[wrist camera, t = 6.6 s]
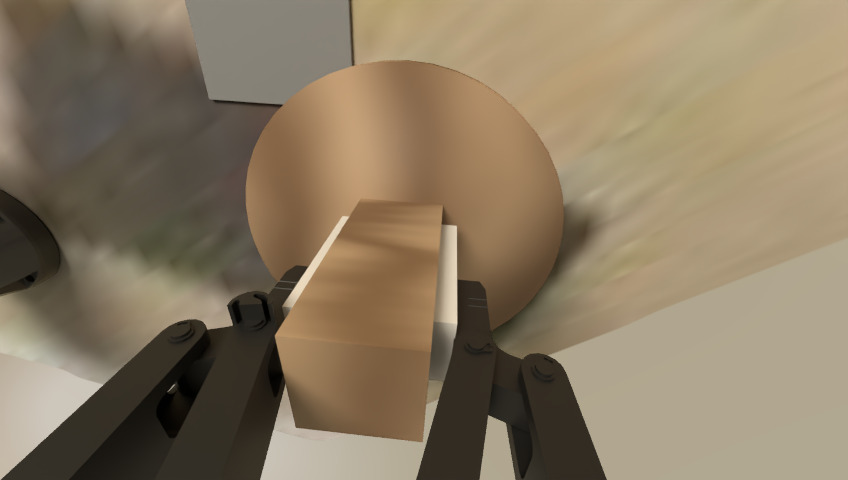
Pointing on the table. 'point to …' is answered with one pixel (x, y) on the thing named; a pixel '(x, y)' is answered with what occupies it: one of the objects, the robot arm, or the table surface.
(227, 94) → the mat
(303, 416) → the lid
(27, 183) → the table surface
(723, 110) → the table surface
